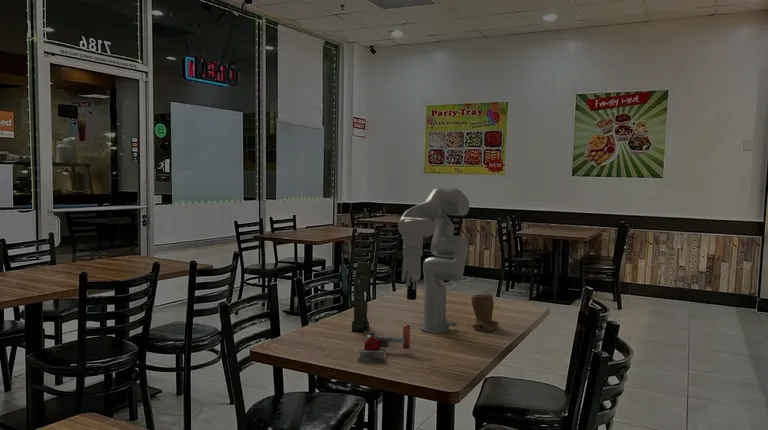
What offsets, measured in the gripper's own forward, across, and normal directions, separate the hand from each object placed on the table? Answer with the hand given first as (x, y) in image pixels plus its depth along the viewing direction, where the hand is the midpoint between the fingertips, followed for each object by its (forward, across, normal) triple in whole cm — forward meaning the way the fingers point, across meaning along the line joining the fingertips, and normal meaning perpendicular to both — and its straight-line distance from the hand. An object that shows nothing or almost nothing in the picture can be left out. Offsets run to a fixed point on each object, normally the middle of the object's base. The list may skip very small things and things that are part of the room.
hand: (411, 299), depth 218 cm
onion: (+19, +16, -10) cm, 27 cm away
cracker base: (+19, +13, -11) cm, 25 cm away
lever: (+17, +7, -7) cm, 20 cm away
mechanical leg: (+19, -19, -29) cm, 39 cm away
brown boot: (+19, -42, +20) cm, 51 cm away
